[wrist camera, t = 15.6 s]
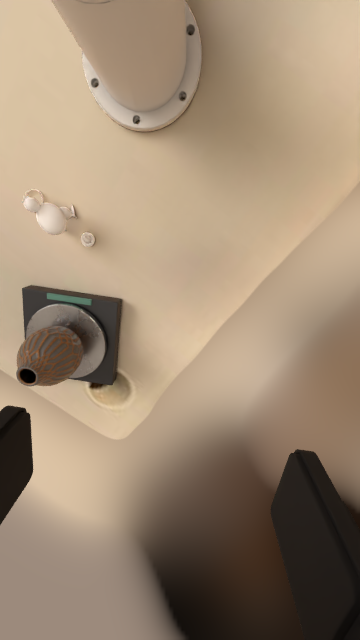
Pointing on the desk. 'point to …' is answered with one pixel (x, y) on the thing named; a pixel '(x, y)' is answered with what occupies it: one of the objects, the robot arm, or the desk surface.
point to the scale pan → (81, 325)
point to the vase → (49, 356)
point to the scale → (98, 306)
